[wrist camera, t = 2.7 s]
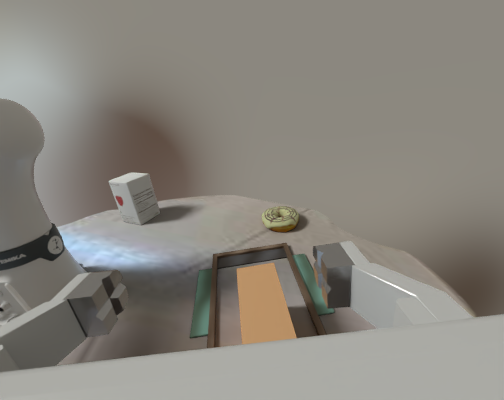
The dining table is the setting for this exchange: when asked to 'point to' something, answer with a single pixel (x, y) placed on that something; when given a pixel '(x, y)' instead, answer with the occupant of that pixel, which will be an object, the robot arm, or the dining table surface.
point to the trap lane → (208, 278)
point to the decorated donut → (280, 218)
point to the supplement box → (135, 197)
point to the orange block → (262, 305)
